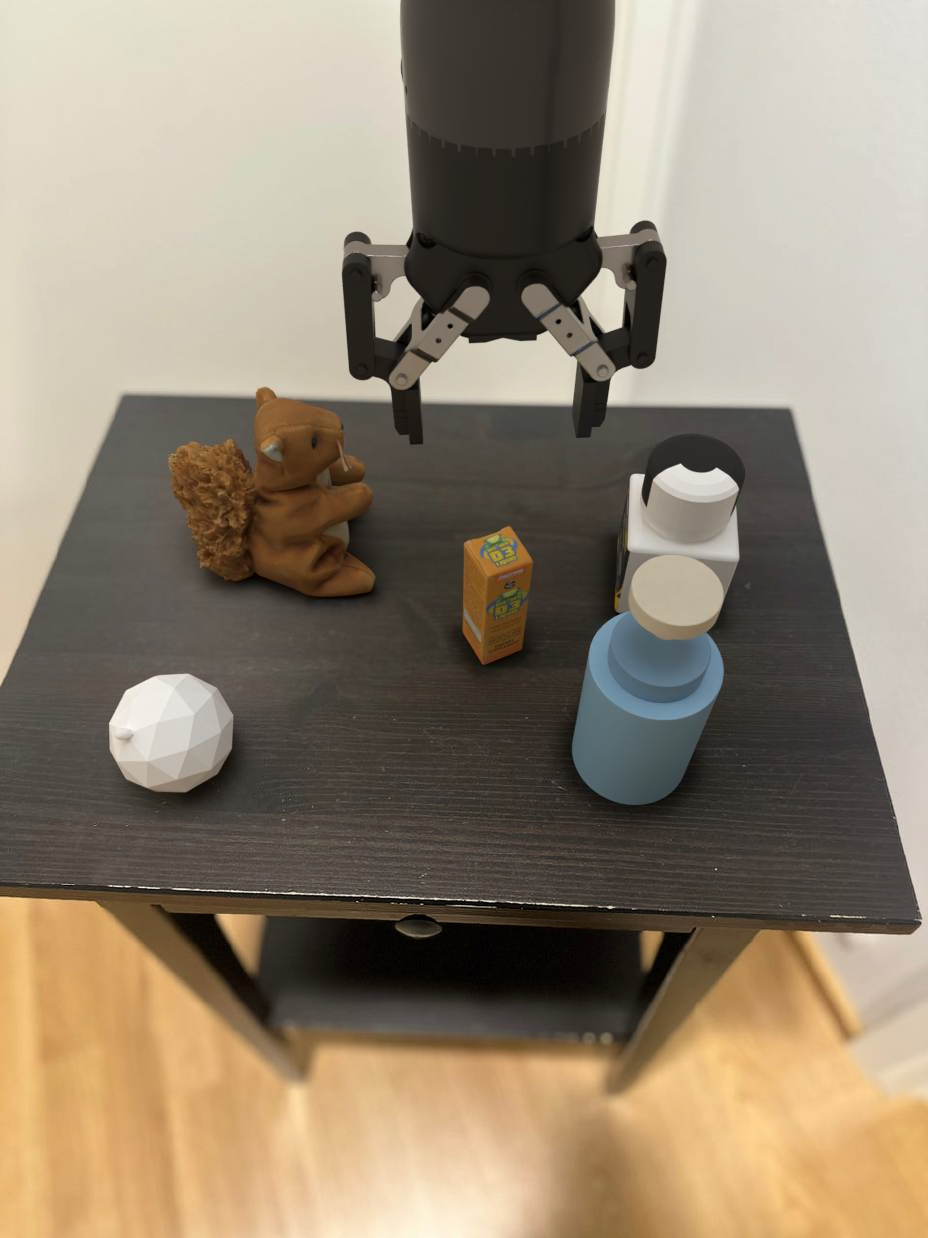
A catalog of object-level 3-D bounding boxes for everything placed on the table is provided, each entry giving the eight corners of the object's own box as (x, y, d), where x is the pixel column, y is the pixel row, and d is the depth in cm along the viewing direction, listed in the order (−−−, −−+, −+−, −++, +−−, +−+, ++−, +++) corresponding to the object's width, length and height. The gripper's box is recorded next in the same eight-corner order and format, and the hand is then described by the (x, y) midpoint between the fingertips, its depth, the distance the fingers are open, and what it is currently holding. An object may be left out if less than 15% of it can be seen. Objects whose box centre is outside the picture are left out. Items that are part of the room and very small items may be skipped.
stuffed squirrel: (384, 595, 63) (365, 460, 52) (187, 615, 62) (127, 482, 51) (376, 497, 69) (357, 357, 58) (196, 514, 68) (144, 376, 57)
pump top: (700, 592, 46) (713, 551, 43) (718, 661, 43) (733, 623, 40) (616, 595, 45) (624, 555, 43) (629, 665, 43) (639, 627, 40)
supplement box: (483, 670, 59) (484, 577, 51) (461, 633, 61) (459, 537, 53) (526, 652, 60) (534, 558, 52) (504, 616, 62) (508, 519, 53)
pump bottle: (674, 701, 57) (714, 587, 48) (696, 802, 53) (745, 700, 43) (565, 706, 57) (583, 593, 47) (579, 808, 53) (602, 707, 43)
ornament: (259, 788, 54) (166, 799, 46) (168, 786, 57) (66, 796, 50) (261, 674, 55) (169, 667, 47) (170, 679, 58) (71, 673, 50)
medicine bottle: (617, 539, 66) (641, 415, 56) (713, 548, 65) (754, 425, 55) (613, 614, 62) (639, 494, 52) (716, 625, 61) (761, 505, 51)
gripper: (305, 147, 30) (360, 488, 43) (720, 131, 30) (648, 475, 43) (318, 56, 34) (363, 390, 47) (678, 43, 34) (624, 379, 47)
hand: (499, 430), depth 45 cm, fingers open, 8 cm apart
